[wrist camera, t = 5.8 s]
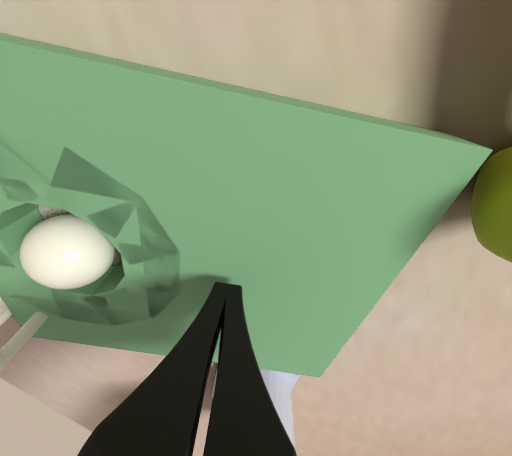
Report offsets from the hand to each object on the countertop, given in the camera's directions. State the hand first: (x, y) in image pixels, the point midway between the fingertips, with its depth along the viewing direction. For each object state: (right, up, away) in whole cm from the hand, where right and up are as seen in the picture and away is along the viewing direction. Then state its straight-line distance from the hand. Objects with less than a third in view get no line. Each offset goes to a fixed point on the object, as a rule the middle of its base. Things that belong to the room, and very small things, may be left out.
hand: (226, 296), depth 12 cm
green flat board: (-2, +2, +3) cm, 4 cm away
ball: (-8, +2, +1) cm, 9 cm away
